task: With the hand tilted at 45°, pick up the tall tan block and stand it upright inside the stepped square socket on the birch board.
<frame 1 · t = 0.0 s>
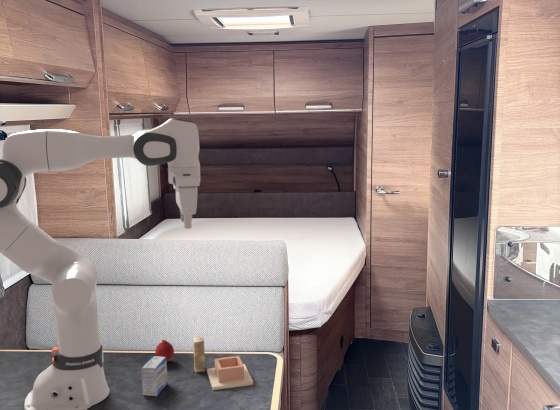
hand: (186, 224, 161), 48 cm above the table, tool pointing down, fingers open, 8 cm apart
medicine box: (155, 390, 165), on the table
stepped square socket: (229, 378, 172), on the table
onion: (165, 363, 182), on the table
tall tan block: (199, 369, 177), on the table
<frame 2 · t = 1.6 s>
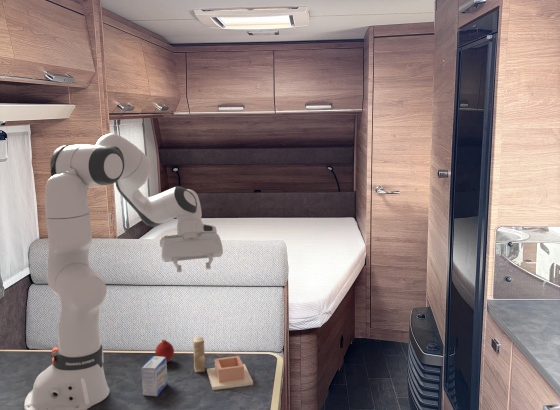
hand: (193, 269, 185), 28 cm above the table, tool tilted 45°, fingers open, 8 cm apart
nothing on the table moved.
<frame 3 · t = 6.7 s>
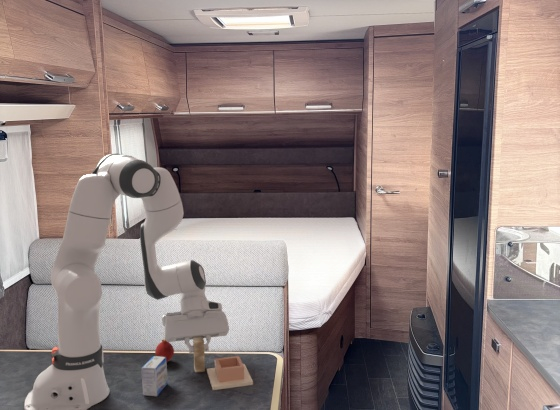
hand: (199, 351, 175), 6 cm above the table, tool tilted 45°, fingers closed on tall tan block, 3 cm apart
tall tan block: (199, 369, 177), on the table, touching gripper
everything else where it was.
when the fingers open (9 cm above the table, at t = 12.8 s): tall tan block drops 1 cm, resting on stepped square socket.
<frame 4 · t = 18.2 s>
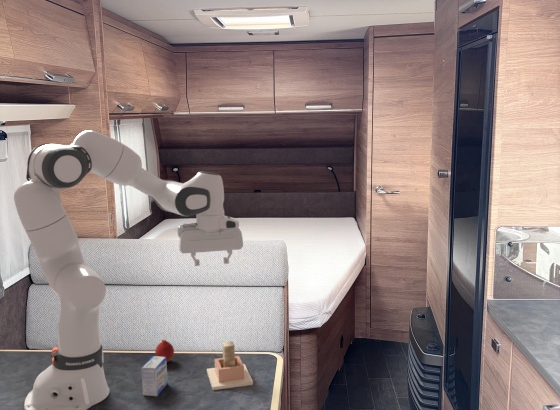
hand: (211, 264, 182), 31 cm above the table, tool pointing down, fingers open, 8 cm apart
tall tan block: (229, 375, 172), point 1 cm above the table, touching stepped square socket
everything else where it was.
at the end: tall tan block 0.0 cm off-centre on the stepped square socket, point 1.0 cm above the stepped square socket's base; tall tan block tilted 0°; the gripper is holding nothing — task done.
